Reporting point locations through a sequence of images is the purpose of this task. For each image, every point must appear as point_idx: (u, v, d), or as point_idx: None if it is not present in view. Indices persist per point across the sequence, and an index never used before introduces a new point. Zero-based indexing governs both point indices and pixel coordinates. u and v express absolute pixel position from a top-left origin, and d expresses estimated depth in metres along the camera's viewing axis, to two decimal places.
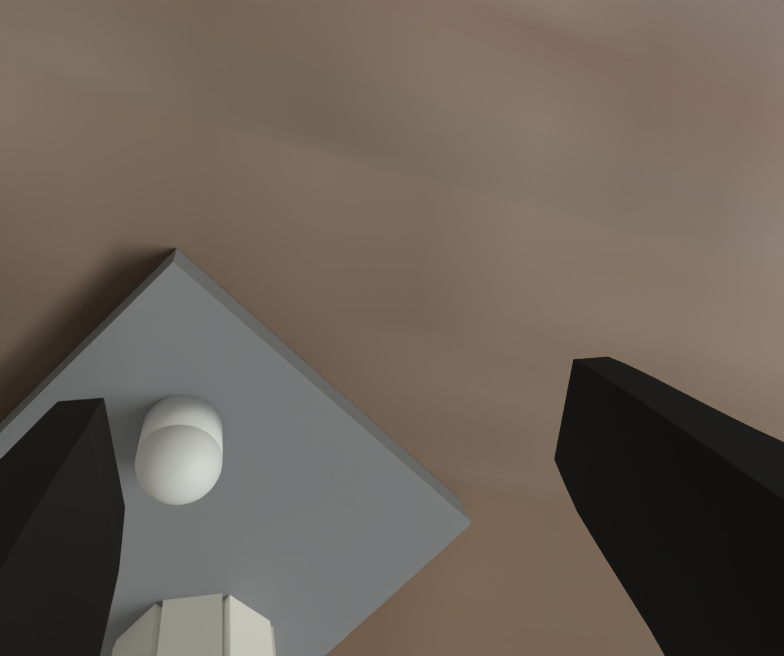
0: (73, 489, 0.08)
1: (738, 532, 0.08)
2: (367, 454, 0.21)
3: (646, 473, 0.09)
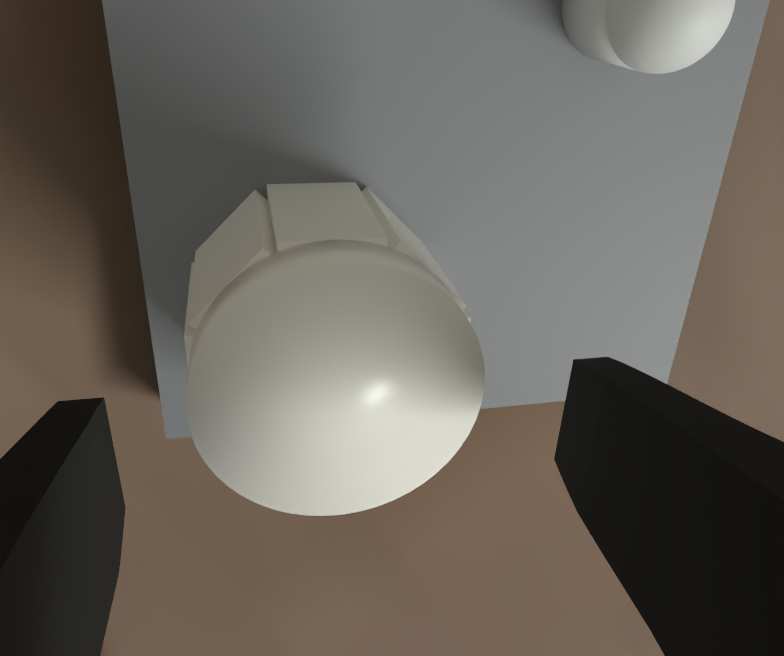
0: (72, 489, 0.08)
1: (738, 532, 0.08)
2: (689, 225, 0.16)
3: (646, 473, 0.09)
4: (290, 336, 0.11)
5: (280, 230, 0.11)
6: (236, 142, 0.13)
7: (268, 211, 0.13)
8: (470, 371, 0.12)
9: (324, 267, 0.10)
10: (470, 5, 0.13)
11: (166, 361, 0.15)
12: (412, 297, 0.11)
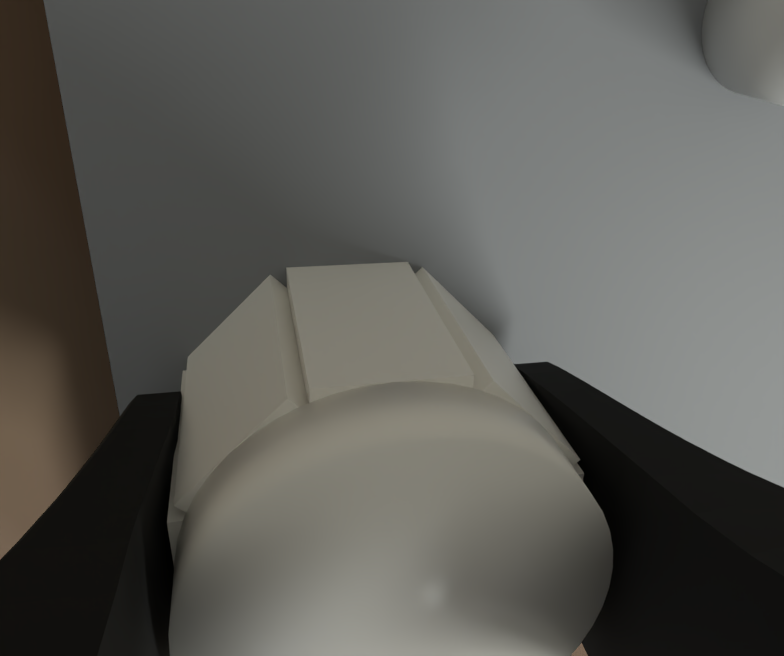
0: (165, 479, 0.08)
1: (654, 544, 0.07)
2: None
3: None
4: (330, 542, 0.07)
5: (312, 363, 0.08)
6: (244, 213, 0.09)
7: (289, 311, 0.09)
8: (592, 567, 0.08)
9: (386, 447, 0.06)
10: (578, 20, 0.09)
11: None
12: (518, 479, 0.07)
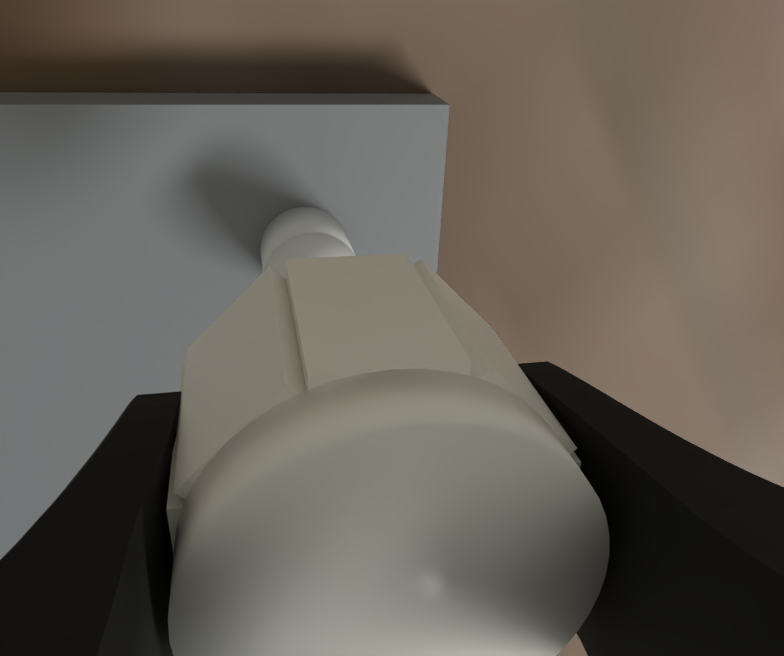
0: (166, 479, 0.08)
1: (654, 544, 0.07)
2: None
3: None
4: (329, 527, 0.07)
5: (310, 351, 0.08)
6: (6, 362, 0.17)
7: (288, 301, 0.09)
8: (589, 555, 0.08)
9: (384, 431, 0.06)
10: (184, 260, 0.17)
11: None
12: (515, 465, 0.07)
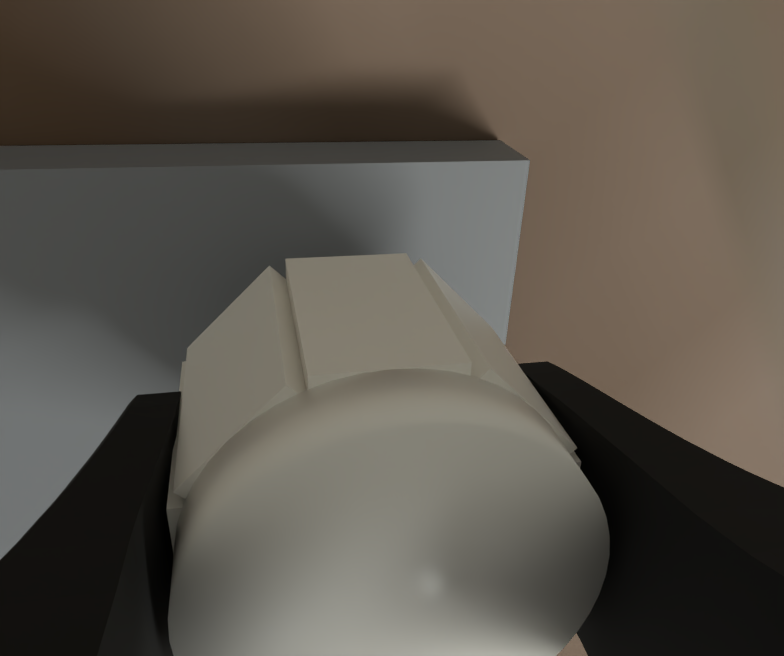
0: (165, 479, 0.08)
1: (654, 544, 0.07)
2: None
3: None
4: (329, 527, 0.07)
5: (310, 351, 0.08)
6: None
7: (288, 301, 0.09)
8: (589, 554, 0.08)
9: (384, 431, 0.06)
10: (168, 368, 0.12)
11: None
12: (515, 465, 0.07)
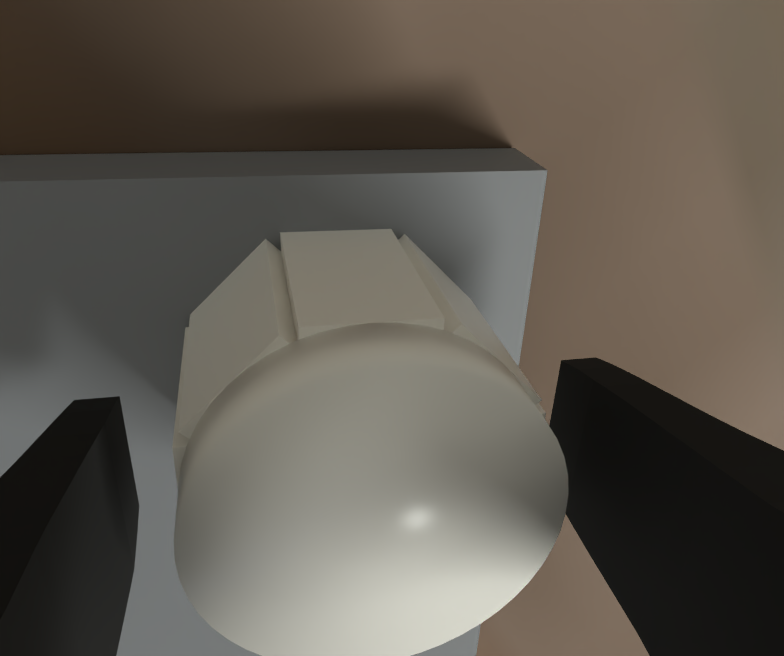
0: (92, 487, 0.08)
1: (722, 534, 0.08)
2: None
3: (632, 475, 0.09)
4: (316, 459, 0.08)
5: (301, 307, 0.09)
6: None
7: (283, 269, 0.10)
8: (550, 492, 0.09)
9: (364, 372, 0.07)
10: (166, 388, 0.12)
11: None
12: (481, 405, 0.08)
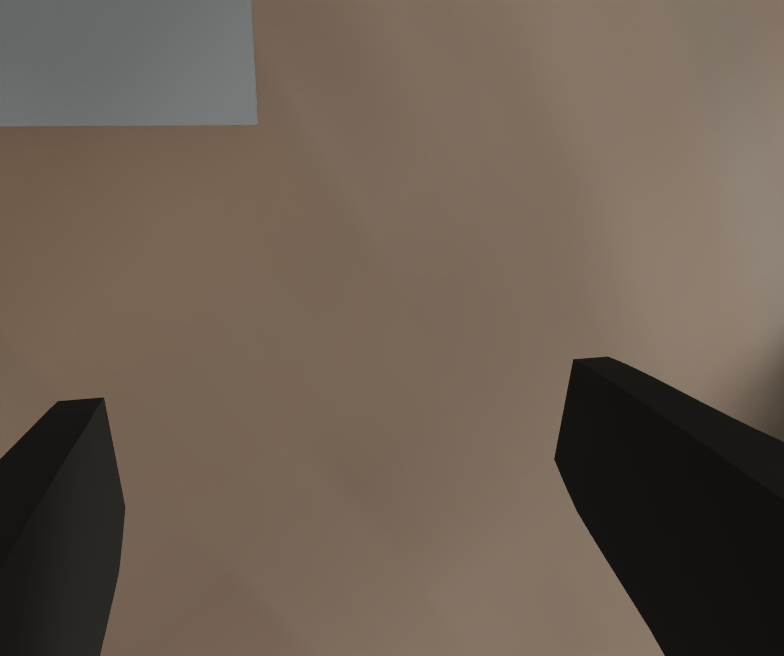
0: (73, 490, 0.08)
1: (738, 532, 0.08)
2: None
3: (646, 473, 0.09)
4: None
5: None
6: None
7: None
8: None
9: None
10: None
11: None
12: None
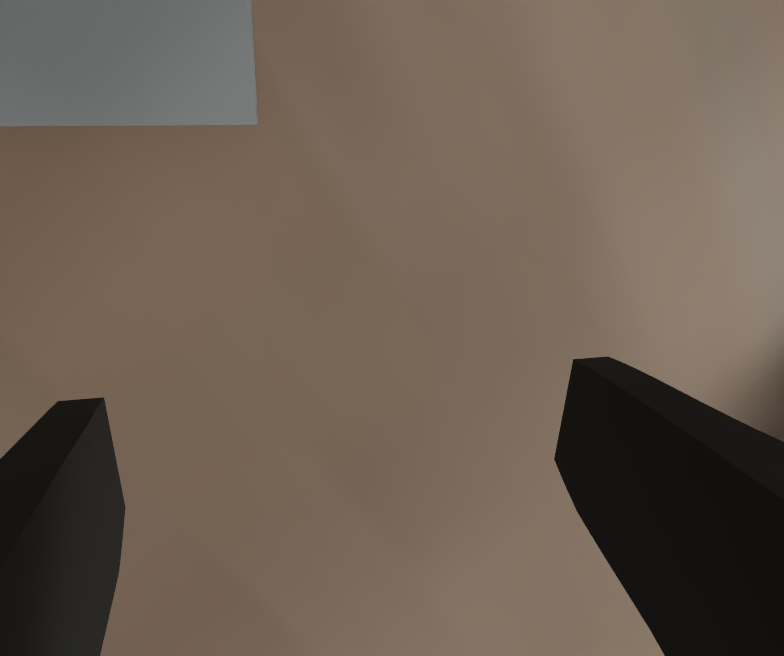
0: (73, 489, 0.08)
1: (738, 532, 0.08)
2: None
3: (646, 473, 0.09)
4: None
5: None
6: None
7: None
8: None
9: None
10: None
11: None
12: None
